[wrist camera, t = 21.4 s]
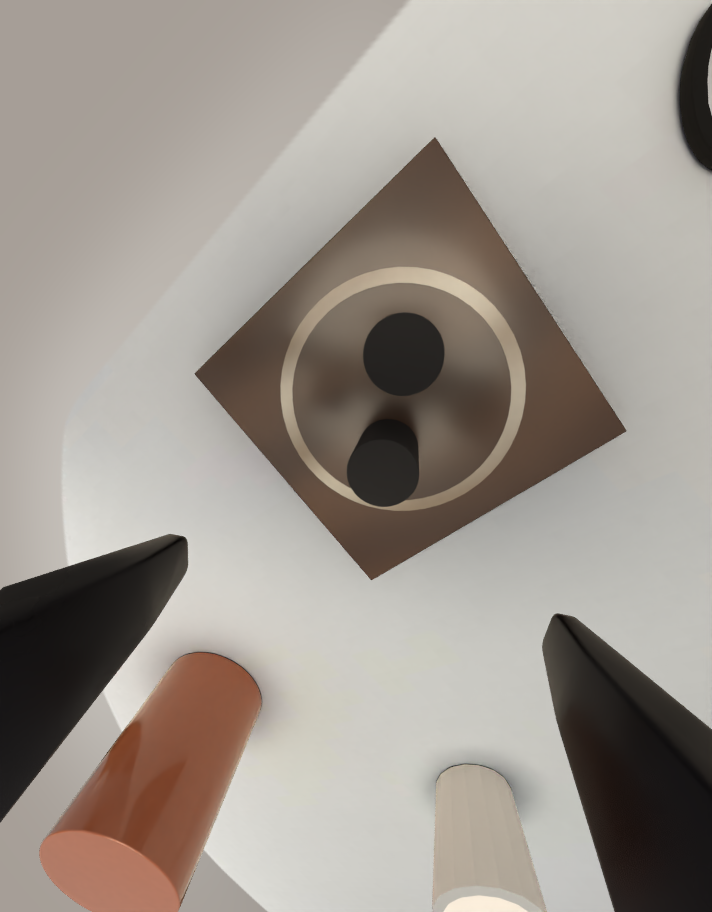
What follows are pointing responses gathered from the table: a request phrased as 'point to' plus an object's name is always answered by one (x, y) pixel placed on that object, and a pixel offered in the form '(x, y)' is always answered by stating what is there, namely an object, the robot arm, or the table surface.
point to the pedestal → (156, 792)
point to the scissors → (698, 91)
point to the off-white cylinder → (480, 846)
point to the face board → (441, 404)
